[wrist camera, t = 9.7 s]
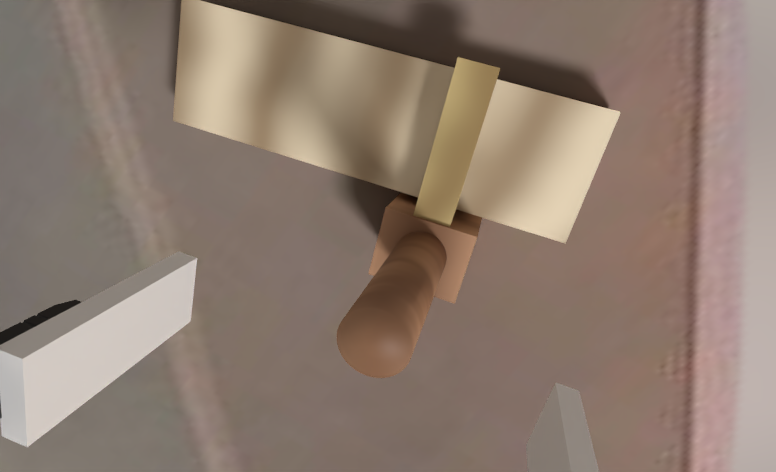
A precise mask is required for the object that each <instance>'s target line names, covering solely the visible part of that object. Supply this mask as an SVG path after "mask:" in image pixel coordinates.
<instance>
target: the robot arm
mask: <svg viewBox="0 0 776 472" xmlns="http://www.w3.org/2000/svg"><path fill="white" fill-rule="evenodd" d="M196 264H197V258H196V257H193V256H190V255H187V254H184V253H182V252H179V251H178V252H176V253H175V254H173V255H171V256H169V257H167V258H165V259H163V260H161V261H159V262H157V263H155V264H154V265H152V266H150V267H148V268H146V269H144V270H142V271H140V272H138V273H136V274H135V275H133V276H131V277H129V278H127V279H125V280H123V281H121V282H119V283H117V284H116V285H114V286H112V287H110V288H108V289H106V290H104V291H102V292H100V293H98V294H96V295H95V296H93V297H91V298H89V299H87V300H85V301H83V302H80V301H77V300H73V301H69V302H65V303H61V304H57V305H54V306H52V307H50V308H48V309H46V310H44V311H42V312H40V313H38V315H37V316H35V315H34V316H32V317H30V318H28V319H26V320H24V322H23V323H21V322H20V323H18V324H16V325H14V326H12V327H10V328H8V329H6V330H4V331H2V332H0V419H1V431H2V436H3V437H5V438H7V439H10V440H12V441H14V442H16V443H19V444H21V445H23V446H26V447H28V446H29V445H31V444H32V443H33V442H35V441H36V440H37V439H38V438H40V437H41V436H42V435H44V434H45V433H46V432H48V431H49V430H50V429H51V428H53V427H54V426H55V425H57V424H58V423H59V422H61V421H62V420H63V419H64V418H66V417H67V416H68V415H70V414H71V413H72V412H74V411H75V410H76V409H77V408H79V407H80V406H81V405H83V404H84V403H85V402H87V401H88V400H89V399H90V398H92V397H93V396H94V395H96V394H97V393H98V392H100V391H101V390H102V389H103V388H105V387H106V386H107V385H109V384H110V383H111V382H112V381H114V380H115V379H116V378H118V377H119V376H120V375H122V374H123V373H124V372H125V371H127V370H128V369H129V368H131V367H132V366H133V365H135V364H136V363H137V362H138V361H140V360H141V359H142V358H144V357H145V356H146V355H148V354H149V353H150V352H151V351H153V350H154V349H155V348H157V347H158V346H159V345H161V344H162V343H163V342H164V341H166V340H167V339H168V338H170V337H171V336H172V335H174V334H175V333H176V332H177V331H179V330H180V329H181V328H183V327H184V326H185V325H186V324H188V323H189V322H190V321H191V313H192V303H193V293H194V284H195V274H196ZM526 450H527V466H528V472H599V470H598V465H597V461H596V457H595V453H594V449H593V445H592V441H591V437H590V433H589V429H588V425H587V421H586V417H585V413H584V409H583V405H582V401H581V397H580V393H579V390H576V389H573V388H570V387H567V386H564V385H561V384H559V383H556V382H555V385H554V387H553V389H552V391H551V393H550V395H549V397H548V399H547V402H546V404H545V406H544V408H543V410H542V412H541V414H540V417H539V419H538V421H537V423H536V425H535V427H534V429H533V431H532V434H531V436H530V438H529V440H528V442H527V444H526Z"/></svg>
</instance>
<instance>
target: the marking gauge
mask: <svg viewBox="0 0 776 472" xmlns="http://www.w3.org/2000/svg"><path fill="white" fill-rule="evenodd" d="M499 72H500V68H498V67H494V66H490V65H486V64H483V63H479V62H475V61H471V60H467V59H464V58H460V57H458V58H457V62H456V65H455V69H454V72H453V76H452V79H451V83H450V86H449V90H448V94H447V97H446V101H445V104H444V108H443V111H442V115H441V118H440V122H439V126H438V129H437V133H436V136H435V140H434V143H433V147H432V150H431V154H430V158H429V161H428V165H427V168H426V172H425V175H424V179H423V182H422V186H421V189H420V193H419V197H415V196H412V195H409V194H406V193H402V192H401V193H400V194H399V195H398V196H397V197H396V198H395V199H394V200H393V201H392V202H391V203H390V204H389V205H388V206H387V207H386V208H385V212H384V215H383V219H382V223H381V227H380V231H379V235H378V239H377V243H376V247H375V251H374V255H373V258H372V262H371V266H370V270H369V274H370V275H373V276H374V277H373V278H372V280H371V281H370V283H369V284H368V285H367V287H366V288H365V289H364V291H363V292H362V294H361V295H360V296H359V298H358V299H357V301H356V302H355V303H354V305H353V306H352V308H351V309H350V310H349V312H348V313H347V315H346V316H345V317H344V319H343V320H342V321H341V323H340V325H339V327H338V331H337V344H338V348H339V351H340V353H341V355H342V357H343V358H344V359H345V361H346V362H347V363H348V364H349V365H350V366H351V367H352V368H354V369H355V370H356V371H358V372H360V373H362V374H364V375H367V376H370V377H376V378H385V377H390V376H394V375H396V374H398V373H399V372H401V371H402V370H403V369H404V368H405V367H406V366H407V365H408V363H409V361H410V359H411V356H412V354H413V351H414V348H415V346H416V343H417V340H418V338H419V335H420V332H421V329H422V327H423V324H424V321H425V319H426V316H427V313H428V311H429V308H430V305H431V303H432V300H433V297H437V298H440V299H443V300H446V301H448V302H451V303H454V304H455V301H456V298H457V295H458V292H459V289H460V286H461V283H462V281H463V278H464V275H465V272H466V269H467V266H468V263H469V260H470V257H471V254H472V251H473V248H474V246H475V243H476V240H477V237H478V232H479V228H480V224H481V219H482V217H479V216H476V215H473V214H469V213H466V212H463V211H460V210H457V209H456V208H457V204H458V201H459V198H460V195H461V192H462V189H463V185H464V182H465V179H466V176H467V173H468V170H469V167H470V163H471V160H472V157H473V154H474V151H475V148H476V144H477V141H478V138H479V135H480V132H481V129H482V125H483V122H484V119H485V116H486V113H487V110H488V107H489V103H490V100H491V97H492V94H493V91H494V88H495V84H496V81H497V78H498V75H499Z"/></svg>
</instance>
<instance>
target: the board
mask: <svg viewBox="0 0 776 472" xmlns="http://www.w3.org/2000/svg"><path fill="white" fill-rule="evenodd" d="M454 69H455V68H453V67H449V66H446V65H442V64H438V63H434V62H431V61H427V60H423V59H419V58H416V57H412V56H408V55H404V54H400V53H397V52H393V51H389V50H385V49H382V48H378V47H374V46H370V45H367V44H363V43H359V42H355V41H351V40H348V39H344V38H340V37H336V36H333V35H329V34H325V33H321V32H318V31H314V30H310V29H306V28H302V27H299V26H295V25H291V24H287V23H284V22H280V21H276V20H272V19H269V18H265V17H261V16H257V15H253V14H250V13H246V12H242V11H238V10H235V9H231V8H227V7H223V6H220V5H216V4H212V3H208V2H204V1H201V0H181V14H180V29H179V43H178V57H177V71H176V86H175V100H174V114H173V121H176V122H179V123H182V124H185V125H189V126H192V127H195V128H198V129H201V130H204V131H208V132H211V133H214V134H217V135H220V136H224V137H227V138H230V139H233V140H236V141H240V142H243V143H246V144H249V145H252V146H256V147H259V148H262V149H265V150H268V151H272V152H275V153H278V154H281V155H284V156H287V157H291V158H294V159H297V160H300V161H303V162H307V163H310V164H313V165H316V166H319V167H323V168H326V169H329V170H332V171H335V172H339V173H342V174H345V175H348V176H351V177H355V178H358V179H361V180H364V181H367V182H370V183H374V184H377V185H380V186H383V187H386V188H390V189H393V190H396V191H399V192H402V193H406V194H409V195H412V196H415V197H419V193H420V189H421V186H422V182H423V179H424V175H425V172H426V168H427V165H428V161H429V158H430V154H431V150H432V147H433V143H434V140H435V136H436V133H437V129H438V126H439V122H440V118H441V115H442V111H443V108H444V104H445V101H446V97H447V94H448V90H449V86H450V83H451V79H452V76H453V72H454ZM620 113H621V112H619V111H615V110H612V109H608V108H604V107H600V106H596V105H593V104H589V103H585V102H581V101H578V100H574V99H570V98H566V97H563V96H559V95H555V94H551V93H547V92H544V91H540V90H536V89H532V88H529V87H525V86H521V85H517V84H514V83H510V82H506V81H502V80H498V79H497V81H496V84H495V88H494V91H493V94H492V97H491V100H490V103H489V107H488V110H487V113H486V116H485V119H484V122H483V125H482V129H481V132H480V135H479V138H478V141H477V144H476V148H475V151H474V154H473V157H472V160H471V163H470V167H469V170H468V173H467V176H466V179H465V182H464V185H463V189H462V192H461V195H460V198H459V201H458V204H457V208H456V209H457V210H460V211H463V212H466V213H469V214H473V215H476V216H479V217H482V218H485V219H489V220H492V221H495V222H498V223H501V224H505V225H508V226H511V227H514V228H517V229H521V230H524V231H527V232H530V233H533V234H536V235H540V236H543V237H546V238H549V239H552V240H556V241H559V242H562V243H566V241H567V238H568V236H569V234H570V231H571V229H572V226H573V224H574V222H575V219H576V217H577V215H578V212H579V210H580V207H581V205H582V203H583V200H584V198H585V196H586V193H587V191H588V189H589V186H590V184H591V181H592V179H593V177H594V174H595V172H596V170H597V167H598V165H599V162H600V160H601V158H602V155H603V153H604V151H605V148H606V146H607V144H608V141H609V139H610V136H611V134H612V132H613V129H614V127H615V125H616V122H617V120H618V117H619V115H620Z"/></svg>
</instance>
